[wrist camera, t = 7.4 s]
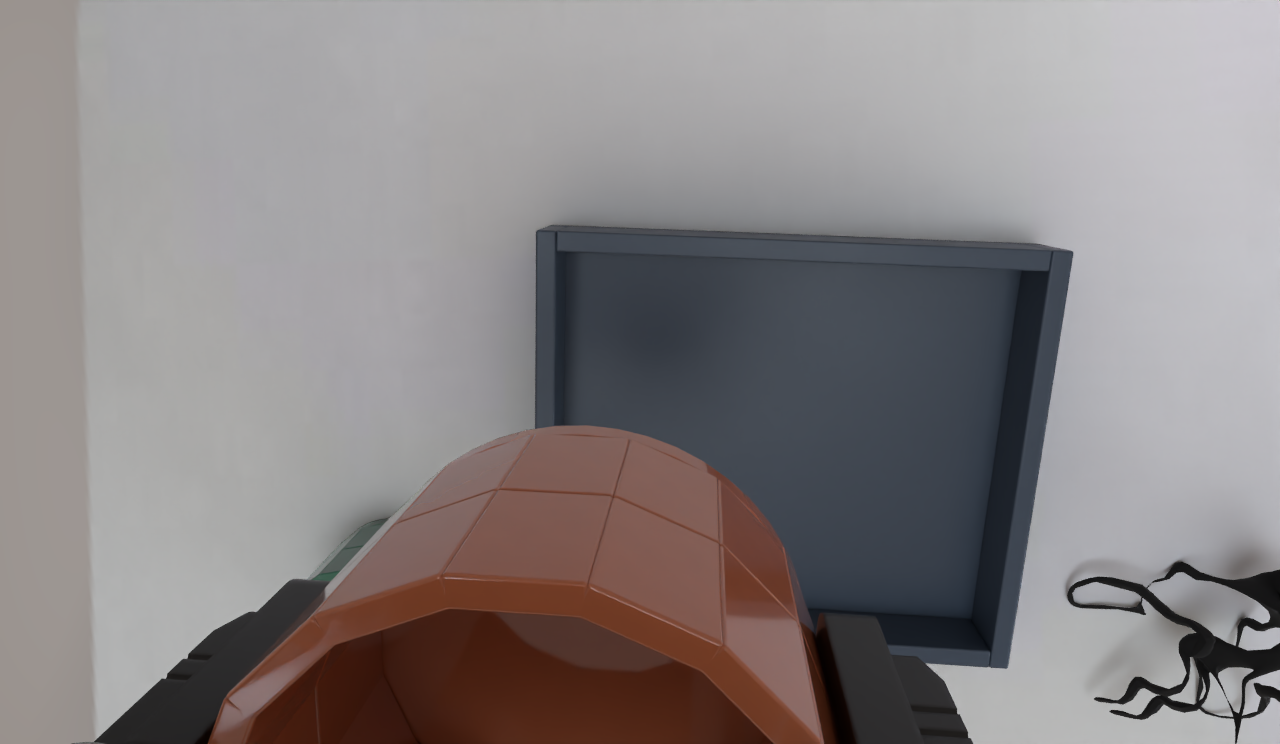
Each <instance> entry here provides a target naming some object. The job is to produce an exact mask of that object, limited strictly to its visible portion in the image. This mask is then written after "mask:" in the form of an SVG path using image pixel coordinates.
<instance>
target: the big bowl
mask: <svg viewBox="0 0 1280 744" xmlns="http://www.w3.org/2000/svg"><path fill="white" fill-rule="evenodd" d="M208 744H841V743H840V738H839V734H838V730H837V725H836V721H835V718H834V712H833V708H832V704H831V699H830V695H829V691H828V687H827V682H826V678H825V674H824V669H823V665H822V661H821V656H820V652H819V648H818V643H817V639H816V635H815V630H814V626H813V623H812V620H811V618H810V615H809V612H808V610H807V607H806V604H805V602H804V598H803V594H802V591H801V587H800V584H799V581H798V577H797V574H796V571H795V568H794V566H793V564H792V562H791V560H790V557H789V555H788V553H787V551H786V548H785V546H784V544H783V543H782V541H781V540H780V538H779V537H778V535H777V533H776V532H775V530H774V529H773V527H772V525H771V524H770V522H769V521H768V520H767V518H766V517H765V516H764V515H763V514H762V513H761V511H760V510H759V509H758V508H757V507H756V505H755V504H754V503H753V502H752V501H751V499H750V498H749V497H747V496H746V495H745V494H744V493H743V492H742V491H741V490H740V489H739V488H738V487H737V486H735V485H734V484H733V483H732V482H731V481H730V480H729V479H728V478H726V477H725V476H723V475H722V474H721V473H719V472H718V471H716V470H715V469H714V468H712V467H711V466H709V465H708V464H706V463H705V462H704V461H702V460H700V459H698V458H696V457H694V456H692V455H690V454H689V453H687V452H685V451H683V450H681V449H679V448H677V447H675V446H672V445H670V444H667V443H664V442H662V441H659V440H656V439H654V438H651V437H649V436H645V435H641V434H637V433H633V432H629V431H624V430H620V429H614V428H606V427H597V426H588V425H580V426H552V427H545V428H538V429H531V430H526V431H522V432H518V433H515V434H511V435H508V436H504V437H500V438H498V439H495V440H493V441H491V442H488V443H486V444H484V445H481V446H479V447H477V448H474V449H472V450H471V451H469V452H467V453H466V454H464V455H462V456H461V457H459V458H457V459H456V460H454V461H452V462H451V463H449V464H448V465H446V466H445V467H444V468H443V469H442V470H440V471H439V472H438V473H437V474H435V475H434V476H433V477H432V478H430V479H429V480H428V481H427V482H426V483H425V484H424V485H423V486H422V487H421V488H420V490H419V491H418V492H417V493H416V494H415V495H414V496H413V497H412V498H411V499H410V500H409V501H408V502H406V503H405V504H404V505H403V506H402V507H401V508H400V509H399V510H398V511H397V512H396V513H395V514H394V515H393V516H392V517H390V518H389V519H388V520H387V521H386V522H385V523H384V525H383V526H382V527H381V528H380V529H379V530H378V531H377V532H376V533H375V534H374V535H373V536H372V538H371V539H370V540H369V541H368V542H367V543H366V544H365V545H364V546H363V547H362V548H361V549H360V551H359V552H358V553H357V554H356V555H355V556H354V557H353V558H352V559H351V560H350V561H349V562H348V564H347V565H346V566H345V567H344V568H343V569H342V570H341V571H340V572H339V573H338V574H337V575H336V577H335V578H334V579H333V580H332V581H331V582H330V583H329V584H328V585H327V586H326V587H325V589H324V590H323V591H322V592H321V593H320V594H319V595H318V596H317V597H316V598H315V599H314V600H313V601H312V602H311V604H310V605H309V606H308V607H307V608H306V609H305V610H304V611H303V612H302V613H301V614H300V615H299V617H298V618H297V619H296V620H295V621H294V622H293V623H292V624H291V625H290V626H289V627H288V628H287V630H286V631H285V632H284V633H283V634H282V635H281V636H280V637H279V638H278V639H277V640H276V641H275V642H274V644H273V645H272V646H271V647H270V648H269V649H268V650H267V651H266V652H265V653H264V654H263V655H262V657H261V658H260V659H259V660H258V661H257V662H256V663H255V664H254V665H253V666H252V667H251V668H250V670H249V671H248V672H247V673H246V674H245V675H244V676H243V677H242V678H241V679H240V680H239V681H238V683H237V684H236V685H235V686H234V687H233V688H232V689H231V690H230V691H229V692H228V694H227V696H226V697H225V698H224V699H223V702H222V705H221V708H220V710H219V713H218V716H217V719H216V722H215V724H214V727H213V730H212V733H211V736H210V738H209V741H208Z"/></svg>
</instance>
